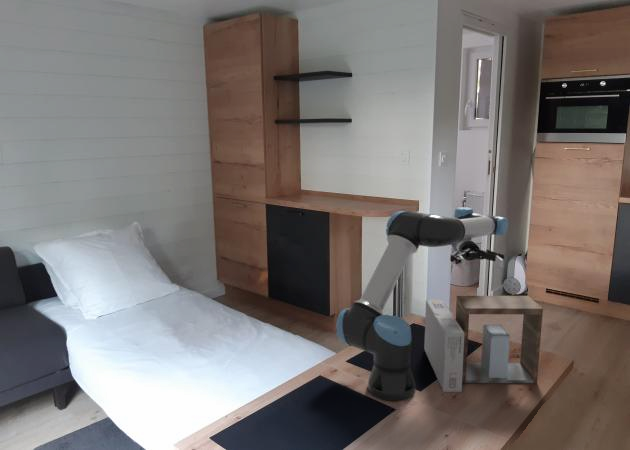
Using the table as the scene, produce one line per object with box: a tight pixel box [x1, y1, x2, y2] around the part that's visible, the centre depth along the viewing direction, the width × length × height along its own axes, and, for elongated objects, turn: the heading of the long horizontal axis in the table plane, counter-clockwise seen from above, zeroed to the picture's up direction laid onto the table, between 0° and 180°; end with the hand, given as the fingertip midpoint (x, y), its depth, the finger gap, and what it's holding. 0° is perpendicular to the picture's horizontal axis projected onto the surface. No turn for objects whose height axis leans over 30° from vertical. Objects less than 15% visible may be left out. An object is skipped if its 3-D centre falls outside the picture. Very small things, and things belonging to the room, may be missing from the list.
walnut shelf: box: [455, 295, 544, 384], centre depth 165 cm, size 24×12×26 cm, turn 88°
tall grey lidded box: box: [480, 324, 511, 378], centre depth 166 cm, size 6×9×15 cm, turn 177°
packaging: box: [423, 299, 464, 393], centre depth 170 cm, size 30×6×20 cm, turn 179°
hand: (483, 263), depth 179 cm, fingers open, 13 cm apart
